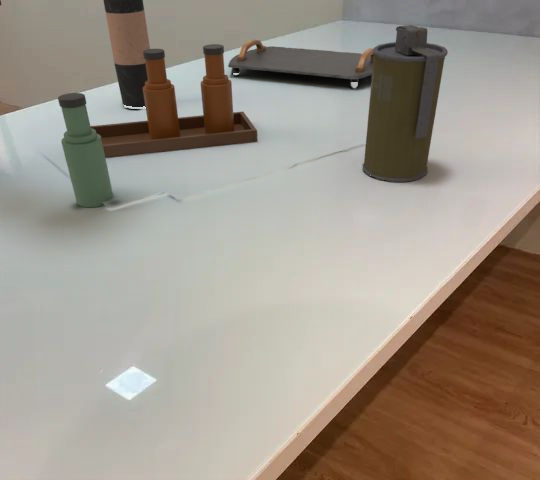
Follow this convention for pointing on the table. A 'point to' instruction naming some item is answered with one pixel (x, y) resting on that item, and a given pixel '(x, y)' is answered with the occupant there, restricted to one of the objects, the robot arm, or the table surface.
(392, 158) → the canister
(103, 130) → the row tray
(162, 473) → the table surface
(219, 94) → the amber bottle far
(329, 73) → the serving tray
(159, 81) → the amber bottle mid
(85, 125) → the green bottle
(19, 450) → the table surface
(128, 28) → the travel mug
